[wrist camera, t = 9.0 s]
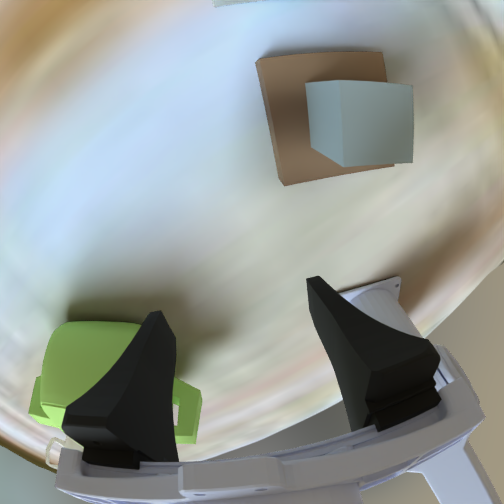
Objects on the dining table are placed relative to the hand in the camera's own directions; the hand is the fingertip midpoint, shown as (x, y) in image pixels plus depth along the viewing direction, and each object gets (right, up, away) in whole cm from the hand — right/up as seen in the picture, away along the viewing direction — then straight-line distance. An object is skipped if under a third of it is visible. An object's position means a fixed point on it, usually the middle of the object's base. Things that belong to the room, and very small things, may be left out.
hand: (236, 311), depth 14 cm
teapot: (-15, -11, +17) cm, 25 cm away
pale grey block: (+7, +12, +4) cm, 14 cm away
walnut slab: (+6, +13, +6) cm, 16 cm away
